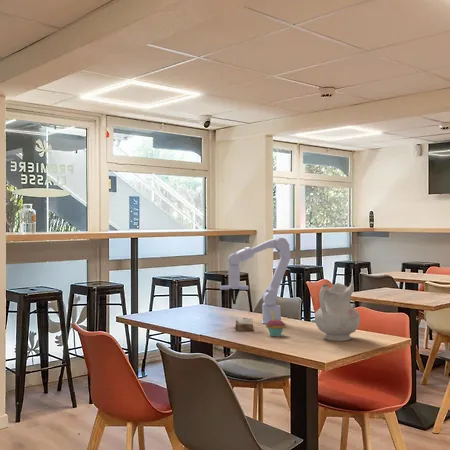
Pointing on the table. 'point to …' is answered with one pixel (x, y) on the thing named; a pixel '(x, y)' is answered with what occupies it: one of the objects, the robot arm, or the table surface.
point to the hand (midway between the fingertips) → (234, 303)
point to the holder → (244, 327)
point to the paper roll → (245, 320)
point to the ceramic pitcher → (337, 312)
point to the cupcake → (275, 326)
